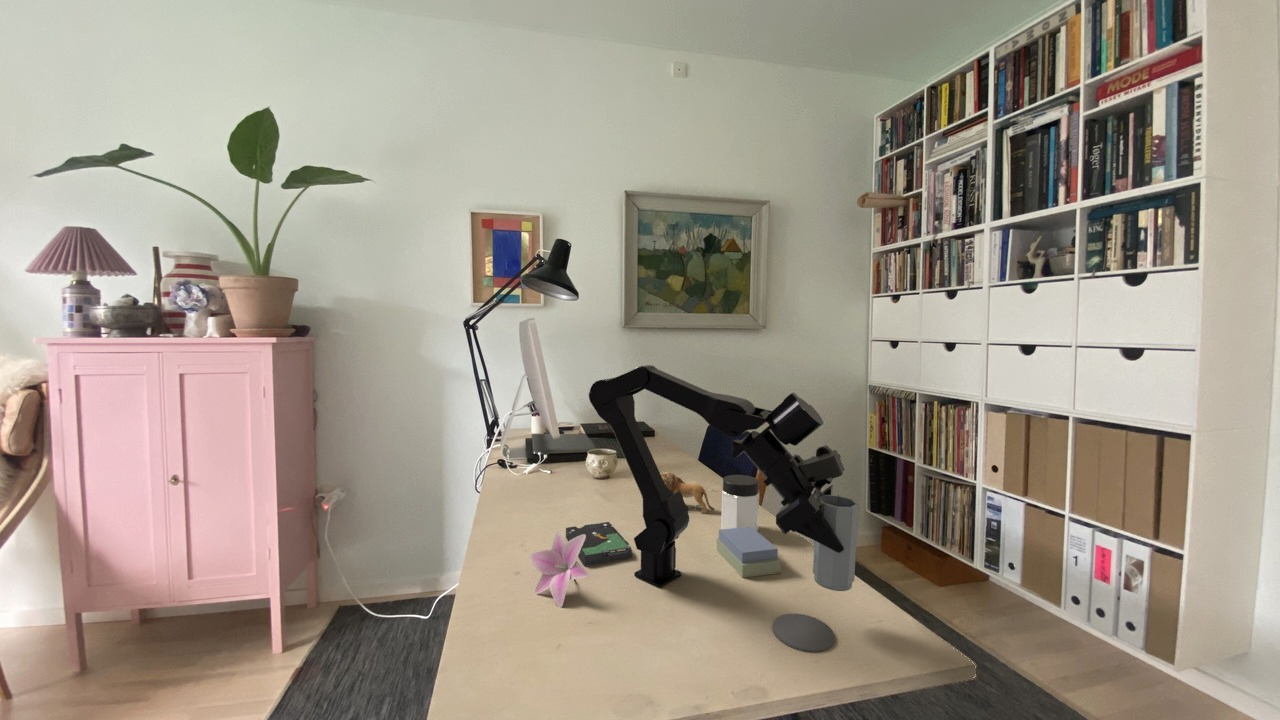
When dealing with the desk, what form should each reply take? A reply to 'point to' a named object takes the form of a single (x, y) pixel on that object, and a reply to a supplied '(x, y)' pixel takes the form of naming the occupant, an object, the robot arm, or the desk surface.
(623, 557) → the disk drive
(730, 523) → the jar
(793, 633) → the coaster
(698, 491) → the lion figurine
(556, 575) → the lily
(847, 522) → the pen cup
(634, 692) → the desk surface
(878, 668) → the desk surface
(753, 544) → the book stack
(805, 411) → the robot arm
